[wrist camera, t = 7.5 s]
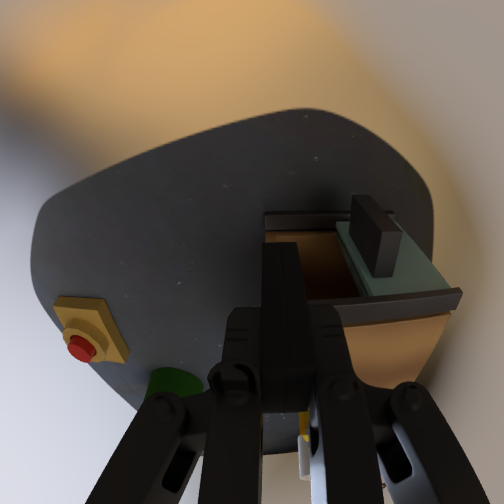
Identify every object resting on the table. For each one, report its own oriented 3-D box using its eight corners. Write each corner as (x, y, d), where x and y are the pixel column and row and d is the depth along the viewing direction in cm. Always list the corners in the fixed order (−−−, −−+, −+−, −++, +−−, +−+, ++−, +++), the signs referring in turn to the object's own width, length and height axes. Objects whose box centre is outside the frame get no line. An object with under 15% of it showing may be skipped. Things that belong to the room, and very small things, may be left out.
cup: (351, 435, 50) (356, 472, 41) (299, 443, 52) (301, 481, 43) (354, 422, 46) (361, 464, 37) (296, 432, 48) (298, 475, 39)
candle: (144, 365, 37) (126, 421, 28) (198, 369, 36) (186, 432, 28) (160, 393, 41) (147, 443, 32) (207, 397, 40) (200, 452, 32)
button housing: (59, 295, 31) (45, 315, 27) (104, 298, 30) (90, 320, 27) (87, 346, 36) (77, 365, 32) (130, 352, 35) (121, 373, 32)
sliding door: (338, 185, 21) (385, 248, 13) (400, 187, 21) (468, 245, 12) (335, 226, 23) (372, 304, 14) (395, 226, 23) (450, 296, 14)
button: (68, 332, 29) (62, 342, 28) (88, 336, 29) (83, 346, 27) (79, 351, 31) (74, 360, 29) (99, 354, 31) (95, 364, 29)
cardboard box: (264, 211, 24) (265, 309, 14) (392, 210, 23) (463, 292, 13) (267, 314, 30) (268, 414, 20) (371, 308, 29) (405, 397, 19)
